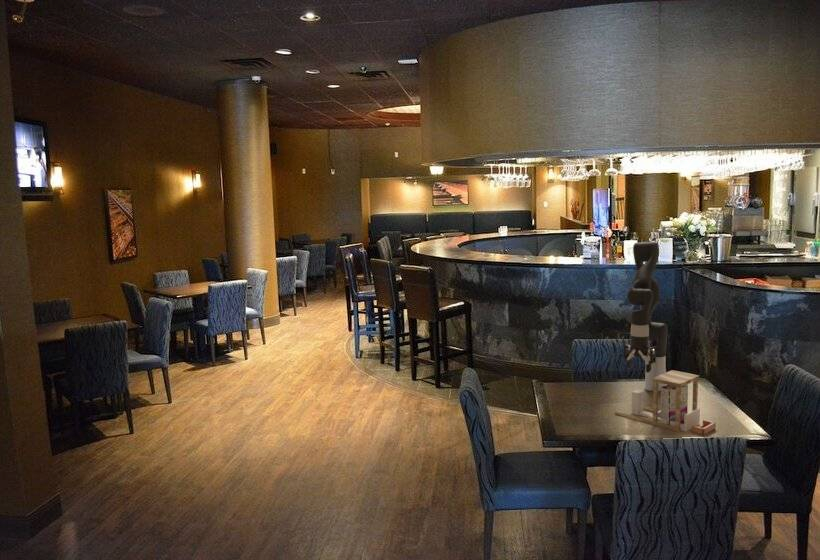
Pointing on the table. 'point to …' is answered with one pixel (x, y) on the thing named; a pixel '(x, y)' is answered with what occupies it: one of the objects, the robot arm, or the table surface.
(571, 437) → the table surface
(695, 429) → the tray
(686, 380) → the tunnel
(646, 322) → the robot arm
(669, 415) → the candy bar box
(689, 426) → the sled
